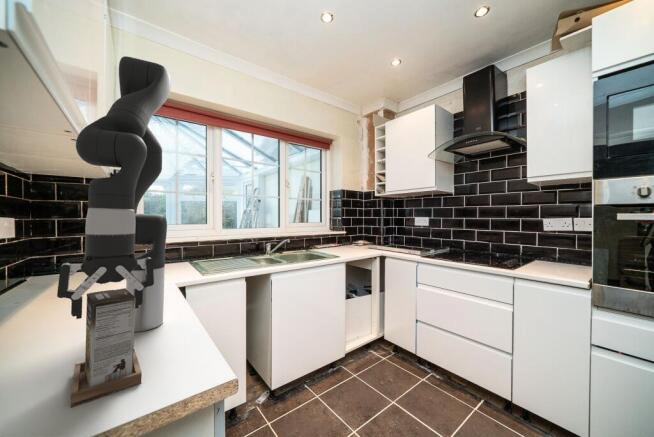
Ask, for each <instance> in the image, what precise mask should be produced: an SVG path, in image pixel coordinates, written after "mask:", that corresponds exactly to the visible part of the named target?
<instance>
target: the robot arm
mask: <svg viewBox="0 0 654 437" xmlns="http://www.w3.org/2000/svg"><path fill="white" fill-rule="evenodd" d="M118 80H119V81H118V82H119V93H120V97H119V98H118V99H116V100H115V101H114V102H113V103H112V105H111V106H110V108H109V110H108V112H106V115H104V116H102V117H100V118H98V119H97V120H95V121H93V122H91V123H90V124H88V125H87V126H85V127H84V128H83V129H82V130H81V131H80V132H79V134H78V135H77V138H76V141H75V150H76V152H77V154H78V156H79V157H80V159H81V160H82V161H84V162H85V163H87V164H90V165H92V166H96V167H97V166H98V167H108V168H118V169H119V168H120V169H119V171H118V172H117V173H116V174H115V175H113V176H109V177H97V178H94V179H91V180H90V182H89V183H88V198H87V199H88V200H87V214H86V218H85V228H84V229H85V234H84V235H85V237H84V238H85V240H84V243H85V245H84V260H83V261H82V263H70V262H63V263H62V264H61V266H60V268H59V277H58V282H57V285H58V286H57V291H56V292H57V294H56V297H57V298H59V299H63V298H64V299H69V300H70V301H71V302H70V303H71V306H70V308H71V309H70V310H71V311H70V313H71V314H70V315H71V317H76V318H75V319H76V320H78V319H82V317H83V295H84V294H85V293H86V292H87V291H88V290H89V289H90V288H92V286H93V285H94V284H99V285H103V284H105V285H106V284H108V283H120V282H121V283H122V281H124V280H125V288H126V289H127V290H128V291H129V292H130V293H131V294H132V295H133V296H134V297H135V324H134V333H136V332H138V333H139V332H143V331H144V332H146V331H149V330H152V329H155V328H157V327H160V326H161V325H162V324H163V323H164V307H165V306H164V302H165V300H164V299H165V272H166V271H165V270H166V269H165V268H166V244H167V243H166V242H167V231H168V222H167V221H168V220H167V218H166V216H165V215H163V214H157V213H155V214H154V213H138V207H139V205H140V204H139V203H140V202H141V200H142V198H143V196H144V195H145V194H146V193H147V191H148V190H149V189H150V187H151V186H152V185H153V184H154V183H155V182H156V181H157V179H158V178H159V176H160V174H161V173H162V171H163V147H162V144H161V142H160V141H159V139H158V138H157V136H156V135H155V132H153V130H152V129H151V127H150V126H149V123H150V121H151V119H152V118H153V116H154V115H155V113H157V112H158V110H160V109H161V107H162V106H163V105H164V104H165V102H167V100H168V98H169V96H170V95H171V94H170V93H171V85H172V84H171V76H170V73H169V71H168V69H167V68H166V67H165V66H164V65H162V64H160V63H157V62H155V61H154V62H153V61H148V60H144V59H140V58H136V57H132V56H127V55H126V56H122V57H121V58H120V60H119V63H118ZM147 245H148V246H149V245H150V246H151V245H152V248H151V249H150V250H148V251H146V252H145V253H142V254H139V255H137V256H136V254H135V251H136V246H147ZM79 270H81V271H82V272H83V274H85V275H86V276H87V277H86V278H84V280H82V282H81V283H80V284H79V285H78V287H76V288H75V289H70V288H69V286H70V285H69V284H70V277H72V276H75V275H76V274H77V271H79Z"/></svg>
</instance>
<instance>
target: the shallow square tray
mask: <svg viewBox="0 0 654 437" xmlns="http://www.w3.org/2000/svg"><path fill="white" fill-rule="evenodd" d="M140 384H142V369H141V366H140V363H139V359H138V356H137V352H136V349H135V348H133V371H132V374H130V375H127V376H124V377H121V378H118V379H115V380H111V381H108V382H105V383H102V384H99V385H96V386H93V387H90V388H89V386H88V382H87V378H86V374H85V361H82V362H79V363H75V364H74V370H73V378H72V384H71V385H72V387H71V393H70V408H75V407H76V406H77V407H78V406H80V405H82V404H85V403H88V402H91V401H94V400H98V399H99V398H103V397H106V396H108V395H111V394H115V393H117V392H120V391H123V390H126V389H128V388H132V387H135V386H137V385H140Z"/></svg>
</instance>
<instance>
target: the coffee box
mask: <svg viewBox="0 0 654 437" xmlns="http://www.w3.org/2000/svg"><path fill="white" fill-rule="evenodd" d="M85 318H86V319H85V321H86V323H85V325H86V326H85V350H84V351H85V354H84V355H85V356H84V358H85V359H84V362H85V374H86V378H87V382H88V386H89V388H90V387H93V386H96V385H99V384H102V383H105V382H108V381H111V380H115V379H118V378H121V377H124V376H127V375H130V374H132V371H133V349H134V347H135V346H134V345H135V344H134V343H135V342H134V341H135V332H134V324H135V297H134V296H133V295H132V294H131V293H130V292H129V291H128V290H127V289H126V287H125V288H117V289H108V290H101V291H94V292H89V293H88V292H87V293H86V316H85Z"/></svg>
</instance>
